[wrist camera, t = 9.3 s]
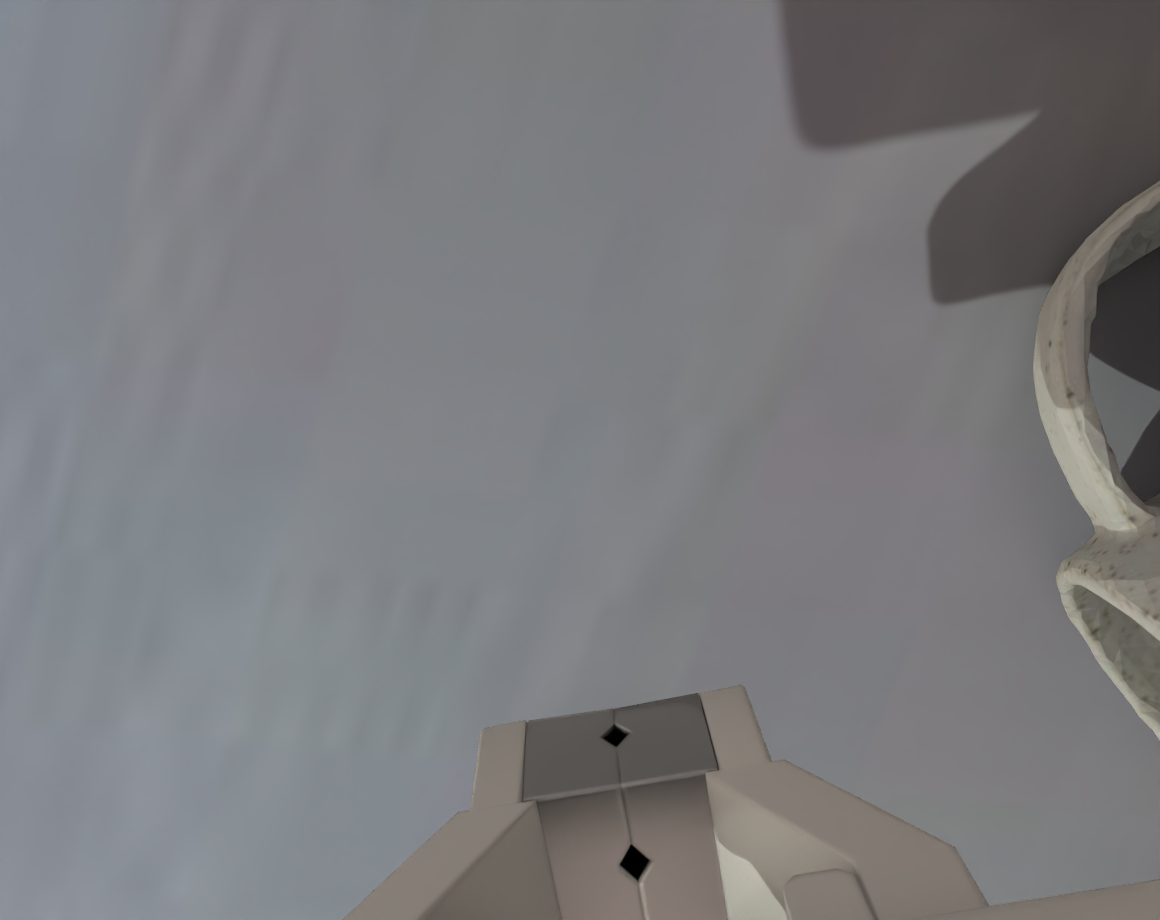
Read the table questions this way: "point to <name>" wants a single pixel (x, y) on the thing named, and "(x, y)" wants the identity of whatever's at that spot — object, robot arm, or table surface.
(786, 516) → the table surface
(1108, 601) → the ceramic mug
